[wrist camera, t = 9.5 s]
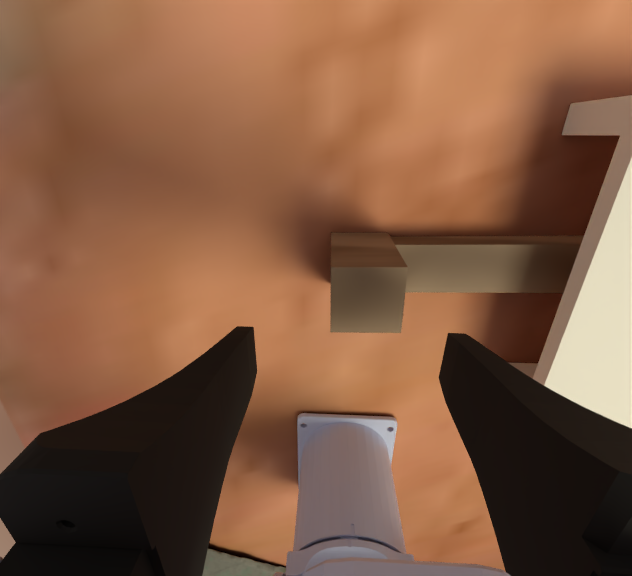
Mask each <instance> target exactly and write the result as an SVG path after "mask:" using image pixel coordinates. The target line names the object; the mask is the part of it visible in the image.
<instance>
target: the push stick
mask: <svg viewBox="0 0 632 576" xmlns="http://www.w3.org/2000/svg"><path fill="white" fill-rule="evenodd" d="M583 237H584V236H389V234H388V232H349V233H331V332H359V333H401V327H402V318H403V308H404V299H405V292H460V293H564V290H565V287H566V285H567V282H568V279H569V276H570V274H571V271H572V268H573V265H574V262H575V260H576V257H577V254H578V251H579V249H580V246H581V243H582V240H583Z"/></svg>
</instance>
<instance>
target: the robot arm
mask: <svg viewBox="0 0 632 576" xmlns="http://www.w3.org/2000/svg"><path fill="white" fill-rule="evenodd" d="M256 374H257V364H256V352H255V340H254V328H253V327H239V326H237V327H236V328H235V329H233V330H232V331H231V332H230V333H229V334H227V335H226V336H225V337H224V338H223V339H221V340H220V341H219V342H218V343H217V344H215V345H214V346H213V347H212V348H210V349H209V350H208V351H207V352H205V353H204V354H203V355H201V356H200V357H199V358H197V359H196V360H195V361H193V362H192V363H190V364H189V365H188V366H186V367H185V368H184V369H182V370H181V371H179V372H178V373H176V374H174V375H173V376H171V377H170V378H168V379H166V380H165V381H163V382H161V383H159V384H158V385H156V386H154V387H152V388H150V389H148V390H146V391H145V392H143V393H141V394H139V395H137V396H135V397H133V398H131V399H129V400H127V401H125V402H122V403H120V404H118V405H116V406H113V407H111V408H109V409H106V410H104V411H102V412H99V413H97V414H94V415H92V416H89V417H86V418H84V419H81V420H78V421H75V422H72V423H70V424H67V425H64V426H61V427H58V428H55V429H52V430H49V431H46V432H43V433H40V434H39V435H38V436H37V437H36V438H35V439H34V440H33V441H32V442H31V443H30V444H29V445H28V446H27V447H26V448H25V449H24V450H23V452H22V453H20V455H19V456H18V457H17V458H16V459H15V460H14V461H13V462H12V463H11V464H10V465H9V466H8V467H7V468H6V469H5V470H4V471H3V472H2V473H1V474H0V518H1V520H2V521H3V523H4V524H5V526H6V528H7V529H8V531H9V532H10V534H11V535H12V537H13V539H14V540H15V542H16V543H15V544H14V546H13V547H12V548H11V549H10V551H9V552H8V553H7V555H6V556H5V557H4V559H3V558H2V557H0V576H202V575H203V570H204V565H205V560H206V555H207V550H208V546H209V541H210V537H211V532H212V528H213V523H214V518H215V514H216V510H217V506H218V502H219V497H220V493H221V489H222V485H223V481H224V477H225V473H226V469H227V465H228V461H229V458H230V455H231V452H232V448H233V446H234V443H235V440H236V437H237V435H238V432H239V429H240V426H241V424H242V421H243V418H244V415H245V413H246V410H247V407H248V404H249V401H250V399H251V396H252V392H253V388H254V383H255V378H256ZM439 380H440V384H441V388H442V391H443V395H444V398H445V401H446V404H447V406H448V409H449V411H450V413H451V416H452V418H453V420H454V423H455V425H456V427H457V429H458V432H459V434H460V436H461V438H462V440H463V443H464V445H465V447H466V449H467V452H468V454H469V456H470V458H471V461H472V463H473V466H474V468H475V471H476V474H477V477H478V480H479V483H480V486H481V489H482V492H483V495H484V498H485V501H486V504H487V508H488V511H489V514H490V518H491V521H492V524H493V527H494V531H495V534H496V538H497V541H498V545H499V548H500V552H501V556H502V559H503V563H504V567H505V570H506V572H505V571H503V570H501V569H496V568H492V567H487V566H483V565H478V564H462V563H444V562H426V561H414V557H413V555H412V554H406V548H405V542H404V537H403V531H402V526H401V520H400V514H399V509H398V503H397V498H396V492H395V486H394V481H393V475H392V470H391V462H392V456H393V449H394V443H395V436H396V430H397V420H396V419H395V418H394V417H385V416H361V415H336V414H312V413H301V414H299V415H298V419H297V432H298V485H299V494H298V504H297V515H296V526H295V536H294V547H293V551H289V552H288V553H287V562H286V572H285V573H282V572H276V573H275V574H274V575H273V576H632V428H629V427H627V426H625V425H622V424H620V423H618V422H615V421H613V420H611V419H609V418H606V417H604V416H602V415H600V414H598V413H596V412H593V411H591V410H589V409H587V408H585V407H583V406H581V405H579V404H577V403H575V402H573V401H571V400H569V399H567V398H566V397H564V396H562V395H560V394H558V393H556V392H554V391H553V390H551V389H549V388H547V387H546V386H544V385H542V384H541V383H539V382H537V381H536V380H534V379H532V378H531V377H529V376H528V375H526V374H524V373H523V372H521V371H520V370H518V369H517V368H515V367H514V366H512V365H511V364H509V363H508V362H506V361H505V360H503V359H502V358H500V357H499V356H498V355H496V354H495V353H493V352H492V351H490V350H489V349H488V348H486V347H485V346H483V345H482V344H480V343H479V342H477V341H476V340H474V339H473V338H471V337H470V336H468V335H466V334H459V333H448V336H447V341H446V346H445V350H444V355H443V360H442V365H441V370H440V374H439ZM302 423H304V424H302ZM389 427H391V428H389Z"/></svg>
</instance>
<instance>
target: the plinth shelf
mask: <svg viewBox="0 0 632 576" xmlns="http://www.w3.org/2000/svg"><path fill="white" fill-rule="evenodd" d="M562 135H588V136H620V138H619V140H618V143H617V146H616V149H615V151H614V154H613V157H612V160H611V163H610V165H609V168H608V171H607V174H606V176H605V179H604V182H603V185H602V187H601V190H600V193H599V196H598V199H597V201H596V204H595V207H594V210H593V212H592V215H591V218H590V221H589V224H588V226H587V229H586V232H585V235H584V237H583V240H582V243H581V246H580V249H579V251H578V254H577V257H576V260H575V262H574V265H573V268H572V271H571V274H570V276H569V279H568V282H567V285H566V287H565V290H564V293H563V296H562V298H561V301H560V304H559V307H558V310H557V312H556V315H555V318H554V321H553V323H552V326H551V329H550V332H549V335H548V337H547V340H546V343H545V346H544V348H543V351H542V354H541V357H540V360H539V362H538V363H510V362H508V363H509V364H511V365H512V366H514V367H515V368H517V369H518V370H520V371H521V372H523V373H524V374H526V375H528V376H529V377H531V378H532V379H534V380H536V381H537V382H539V383H541V384H542V385H544V386H546V387H547V388H549V389H551V390H553V391H554V392H556V393H558V394H560V395H562V396H564V397H566V398H567V399H569V400H571V401H573V402H575V403H577V404H579V405H581V406H583V407H585V408H587V409H589V410H591V411H593V412H596V413H598V414H600V415H602V416H604V417H606V418H609V419H611V420H613V421H615V422H618V423H620V424H622V425H625V426H627V427H629V428H632V95H629V96H621V97H614V98H607V99H599V100H592V101H585V102H577V103H571V104H570V108H569V111H568V114H567V118H566V121H565V125H564V128H563V132H562Z"/></svg>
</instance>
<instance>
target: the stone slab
mask: <svg viewBox="0 0 632 576" xmlns="http://www.w3.org/2000/svg"><path fill="white" fill-rule="evenodd" d="M276 572H282V573H285V572H286V568H285V567H281V566H277V567H276V566H273V565H270V564H266V563H261V562H257V561H254V560H252V559H248V558H240V557H237V556H234V555H229V554H227V553H223V552H219V551H216V550H213V549H208V550H207V555H206V560H205V565H204V570H203V575H202V576H273V575H274V574H275V573H276Z"/></svg>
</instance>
